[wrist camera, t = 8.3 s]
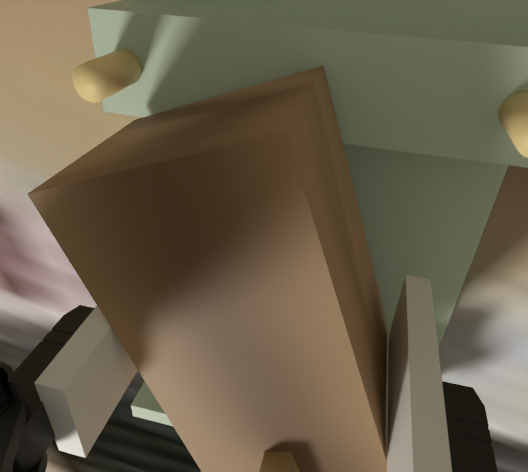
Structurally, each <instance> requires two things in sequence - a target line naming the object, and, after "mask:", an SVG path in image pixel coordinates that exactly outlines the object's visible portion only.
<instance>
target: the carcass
mask: <svg viewBox="0 0 528 472" xmlns="http://www.w3.org/2000/svg"><path fill="white" fill-rule="evenodd" d="M88 14H89V20H90V26H91V33H92V39H93V45H94V52H95V58H96V59H93V60H90V61H88V62H85V63H83V64H80V65H78V66H77V67H76V68H75V69H74V71H73V75H72V80H73V85H74V87H75V89H76V91H77V93H78V94H79V95H80V96H81V97H82V98H83V99H85V100H86V101H89V102H92V103H98V102H100V101H102V103H103V109H104V112H109V113H116V114H124V115H132V116H139V117H141V118H143V117H147V116H150V115H154V114H157V113H161V112H164V111H167V110H171V109H174V108H178V107H181V106H185V105H188V104H192V103H195V102H199V101H202V100H206V99H209V98H212V97H216V96H219V95H223V94H226V93H230V92H233V91H237V90H240V89H244V88H247V87H251V86H254V85H258V84H261V83H264V82H268V81H271V80H275V79H278V78H282V77H285V76H289V75H292V74H296V73H299V72H303V71H306V70H310V69H313V68H316V67H320V66H323V65H324V69H325V73H326V77H327V81H328V85H329V89H330V93H331V98H332V102H333V106H334V110H335V114H336V118H337V122H338V126H339V130H340V134H341V138H342V142H343V146H344V151H345V155H346V159H347V163H348V167H349V171H350V175H351V179H352V183H353V187H354V191H355V195H356V200H357V204H358V208H359V212H360V216H361V220H362V224H363V228H364V232H365V236H366V240H367V244H368V249H369V253H370V257H371V261H372V265H373V269H374V273H375V277H376V281H377V285H378V289H379V293H380V298H381V302H382V306H383V310H384V314H385V318H386V322H387V326H388V330H389V332H390V329H391V325H392V322H393V318H394V315H395V311H396V307H397V304H398V300H399V297H400V293H401V290H402V286H403V283H404V279H405V276H406V275H409V276H414V277H420V278H426V279H431V287H432V296H433V305H434V314H435V323H436V332H437V341H438V350H439V347H440V344H441V342H442V339H443V336H444V334H445V331H446V329H447V326H448V323H449V321H450V318H451V315H452V313H453V310H454V308H455V305H456V302H457V300H458V297H459V294H460V292H461V289H462V287H463V284H464V281H465V279H466V276H467V274H468V271H469V268H470V266H471V263H472V260H473V258H474V255H475V253H476V250H477V247H478V245H479V242H480V239H481V237H482V234H483V232H484V229H485V226H486V224H487V221H488V218H489V216H490V213H491V211H492V208H493V205H494V203H495V200H496V197H497V195H498V192H499V190H500V187H501V184H502V182H503V179H504V176H505V174H506V171H507V169H508V166H509V165H511V166H518V167H526V168H528V0H122V1H117V2H113V3H108V4H103V5H99V6H94V7H89V8H88ZM131 408H132V413H133V416H135V417H139V418H143V419H147V420H151V421H155V422H159V423H163V424H167V425H171V426H173V425H172V423H171V422H170V420H169V419H168V417H167V416H166V414H165V412H164V411H163V409H162V408H161V406H160V404H159V403H158V401H157V400H156V398H155V396H154V395H153V393H152V392H151V390H150V388H149V387H148V385H147V384H146V382H144V383H143V385H142V387H141V389H140V390H139V392H138V394H137V396H136V398H135V399H134V401H133V403H132V405H131Z"/></svg>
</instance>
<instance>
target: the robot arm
mask: <svg viewBox="0 0 528 472" xmlns="http://www.w3.org/2000/svg"><path fill="white" fill-rule="evenodd" d="M137 370H138V369H137V368H136V366H135V365H134V363H133V361H132V360H131V358H130V357H129V355H128V353H127V352H126V350H125V349H124V347H123V345H122V344H121V342H120V341H119V339H118V337H117V336H116V334H115V333H114V331H113V329H112V328H111V326H110V325H109V323H108V321H107V320H106V318H105V317H104V315H103V314H102V312H101V310H100V309H99V307H98V306H96V307H95V308H91V307H86V306H81V305H79V306H78V307H76V308H75V309H73V310H72V311H70V312H68V313H67V314H65V315H64V316H63V317H62V318H61V319H60V320H59V321H58V322H57V324H56V325H55V326H54V327H53V328H52V331H50V332H49V333H48V334H47V335H46V336H45V337H44V338H43V341H42V342H40V343H39V344H38V345H37V346H36V347H35V349H34V350H33V351H32V352H31V353H30V354H29V355H28V357H27V358H26V359H25V360H24V361H23V362H22V363H21V365H20V366H19V367H18V368H17V369H16V370H15V371H14V372H13V370H12V368H11V366H9V365H7V364H5V363H3V362H0V472H45V470H46V466H47V453H46V450H47V449H48V447H49V446H50V444H51V443H52V441H53V440H54V438H55V440H56V443H57V446H58V448H59V451H63V452H66V453H70V454H74V455H77V456H81V457H85V458H86V456H87V454H88V453H89V451H90V449H91V448H92V446H93V444H94V443H95V441H96V439H97V438H98V436H99V434H100V433H101V431H102V429H103V428H104V426H105V424H106V423H107V421H108V419H109V417H110V416H111V414H112V412H113V411H114V409H115V407H116V406H117V404H118V402H119V401H120V399H121V397H122V396H123V394H124V392H125V391H126V389H127V387H128V385H129V384H130V382H131V380H132V379H133V377H134V375H135V374H136V372H137ZM387 472H497V467H496V462H495V457H494V452H493V447H492V446H491V437H490V432H489V430H488V421H487V416H486V411H485V406H484V405H483V403H482V402H481V400H480V398H479V397H478V395H477V394H476V392H475V391H474V389H473V388H471V387H466V386H461V385H457V384H452V383H447V382H443V381H442V376H441V367H440V359H439V350H438V341H437V332H436V323H435V314H434V305H433V296H432V287H431V279H426V278H420V277H414V276H409V275H406V276H405V279H404V283H403V286H402V290H401V293H400V297H399V300H398V304H397V307H396V311H395V315H394V318H393V322H392V325H391V329H390V332H389V336H388V414H387Z"/></svg>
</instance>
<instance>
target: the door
mask: <svg viewBox="0 0 528 472" xmlns="http://www.w3.org/2000/svg"><path fill="white" fill-rule="evenodd" d="M28 196H29V197H30V199H31V200H32V202H33V204H34V205H35V207H36V208H37V210H38V212H39V213H40V215H41V216H42V218H43V219H44V221H45V223H46V224H47V226H48V227H49V229H50V231H51V232H52V234H53V235H54V237H55V239H56V240H57V242H58V243H59V245H60V247H61V248H62V250H63V251H64V253H65V255H66V256H67V258H68V259H69V261H70V263H71V264H72V266H73V267H74V269H75V270H76V272H77V274H78V275H79V277H80V278H81V280H82V282H83V283H84V285H85V286H86V288H87V290H88V291H89V293H90V294H91V296H92V298H93V299H94V301H95V302H96V304H97V306H98V307H99V309H100V310H101V312H102V314H103V315H104V317H105V318H106V320H107V321H108V323H109V325H110V326H111V328H112V329H113V331H114V333H115V334H116V336H117V337H118V339H119V341H120V342H121V344H122V345H123V347H124V349H125V350H126V352H127V353H128V355H129V357H130V358H131V360H132V361H133V363H134V365H135V366H136V368H137V369H138V371H139V372H140V374H141V376H142V377H143V379H144V380H145V382H146V384H147V385H148V387H149V388H150V390H151V392H152V393H153V395H154V396H155V398H156V400H157V401H158V403H159V404H160V406H161V408H162V409H163V411H164V412H165V414H166V416H167V417H168V419H169V420H170V422H171V423H172V425H173V427H174V428H175V430H176V431H177V433H178V435H179V436H180V438H181V439H182V441H183V443H184V444H185V446H186V447H187V449H188V451H189V452H190V454H191V455H192V457H193V459H194V460H195V462H196V463H197V465H198V467H199V468H200V470H201V471H202V472H387V414H388V336H389V330H388V326H387V322H386V318H385V314H384V310H383V306H382V302H381V298H380V293H379V289H378V285H377V281H376V277H375V273H374V269H373V265H372V261H371V257H370V253H369V249H368V244H367V240H366V236H365V232H364V228H363V224H362V220H361V216H360V212H359V208H358V204H357V200H356V195H355V191H354V187H353V183H352V179H351V175H350V171H349V167H348V163H347V159H346V155H345V151H344V146H343V142H342V138H341V134H340V130H339V126H338V122H337V118H336V114H335V110H334V106H333V102H332V98H331V93H330V89H329V85H328V81H327V77H326V73H325V69H324V65H323V66H320V67H316V68H313V69H310V70H306V71H303V72H299V73H296V74H292V75H289V76H285V77H282V78H278V79H275V80H271V81H268V82H264V83H261V84H258V85H254V86H251V87H247V88H244V89H240V90H237V91H233V92H230V93H226V94H223V95H219V96H216V97H212V98H209V99H206V100H202V101H199V102H195V103H192V104H188V105H185V106H181V107H178V108H174V109H171V110H167V111H164V112H161V113H157V114H154V115H150V116H147V117H143V118H140V119H136V120H134V121H133V122H131V123H130V124H128V125H127V126H125V127H124V128H122V129H121V130H120V131H118V132H117V133H115V134H114V135H112V136H111V137H109V138H108V139H107V140H105V141H104V142H102V143H101V144H99V145H98V146H96V147H95V148H93V149H92V150H91V151H89V152H88V153H86V154H85V155H83V156H82V157H80V158H79V159H77V160H76V161H75V162H73V163H72V164H70V165H69V166H67V167H66V168H64V169H63V170H62V171H60V172H59V173H57V174H56V175H54V176H53V177H51V178H50V179H48V180H47V181H46V182H44V183H43V184H41V185H40V186H38V187H37V188H35V189H34V190H32V191H31V192H30V193H28Z"/></svg>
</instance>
